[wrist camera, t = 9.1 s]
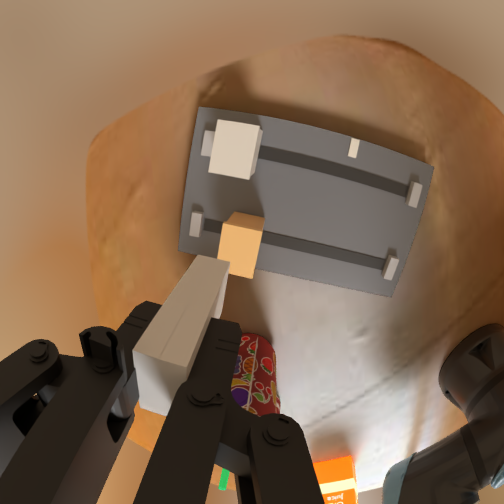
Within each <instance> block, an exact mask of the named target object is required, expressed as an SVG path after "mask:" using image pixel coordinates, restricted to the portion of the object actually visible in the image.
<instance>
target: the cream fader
mask: <svg viewBox="0 0 504 504" xmlns="http://www.w3.org/2000/svg"><path fill="white" fill-rule="evenodd" d="M262 134H263V131H262V130H261V129H260V126H257V125H252V124H246V123H239V122H233V121H226V120H219V119H218V121H217V126H216V131H215V136H214V142H213V147H212V153H211V159H210V164H209V170H208V172H210V173H216V174H221V175H227V176H232V177H237V178H243V179H248V180H249V179H250V176H251V175H253V174H254V173H255V168H256V163H257V158H258V153H259V149H260V144H261V139H262Z"/></svg>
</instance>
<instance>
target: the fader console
mask: <svg viewBox="0 0 504 504" xmlns="http://www.w3.org/2000/svg"><path fill="white" fill-rule="evenodd" d="M218 119H219V120H226V121H233V122H239V123H246V124H252V125H257V126H260V129H261V130H262V131H263V134H262V139H261V144H260V149H259V153H258V158H257V163H256V168H255V173H254V174H253V175H251V176H250V179H249V180H248V179H243V178H237V177H232V176H227V175H221V174H216V173H210V172H208V170H209V164H210V159H211V153H212V147H213V142H214V136H215V131H216V126H217V121H218ZM433 170H434V167H433V166H431V165H429V164H426V163H424V162H422V161H419V160H417V159H414V158H412V157H409V156H406V155H404V154H401V153H398V152H396V151H393V150H390V149H387V148H385V147H382V146H379V145H376V144H373V143H370V142H367V141H364V140H360V139H357V138H354V137H351V136H347V135H344V134H340V133H337V132H333V131H329V130H326V129H322V128H318V127H314V126H310V125H306V124H301V123H297V122H292V121H288V120H283V119H278V118H273V117H268V116H262V115H257V114H251V113H245V112H238V111H231V110H224V109H216V108H207V107H199V109H198V114H197V119H196V124H195V130H194V135H193V141H192V147H191V153H190V159H189V166H188V172H187V179H186V186H185V193H184V201H183V209H182V217H181V226H180V235H179V245H178V251H181V252H185V253H189V254H194V255H202V256H207V257H211V258H216V259H217V257H218V251H219V244H220V238H221V232H222V226H223V223H224V221H225V222H226V221H227V220H228V219H229V218H230V216H231V215H232V214H233V213H234V211H235V212H240V213H245V214H249V215H254V216H259V217H263V218H265V222H264V226H263V233H262V237H261V242H260V247H259V251H258V256H257V261H256V265H255V269H260V270H264V271H269V272H273V273H278V274H282V275H287V276H291V277H296V278H301V279H305V280H310V281H315V282H319V283H324V284H329V285H333V286H338V287H343V288H348V289H352V290H357V291H362V292H367V293H372V294H377V295H382V296H387V297H392V295H393V292H394V290H395V288H396V285H397V283H398V280H399V278H400V275H401V273H402V270H403V268H404V265H405V262H406V260H407V257H408V254H409V252H410V249H411V246H412V243H413V240H414V237H415V234H416V231H417V228H418V225H419V222H420V218H421V215H422V212H423V208H424V205H425V201H426V198H427V194H428V190H429V187H430V183H431V179H432V174H433Z"/></svg>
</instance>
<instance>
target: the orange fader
mask: <svg viewBox="0 0 504 504" xmlns="http://www.w3.org/2000/svg"><path fill="white" fill-rule="evenodd" d="M264 222H265V218H263V217H259V216H254V215H249V214H245V213H240V212H235V211H234V213H233V214H232V215H231V216H230V218H229V219H228V220H227V221H226V222H225V221H224V223H223V226H222V232H221V238H220V244H219V251H218V257H217V259H220V260H225V261H229V262H230V268H229V274H233V275H237V276H242V277H246V278H251V279H252V278H253V274H254V270H255V265H256V261H257V256H258V251H259V247H260V242H261V237H262V233H263V226H264Z"/></svg>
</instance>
